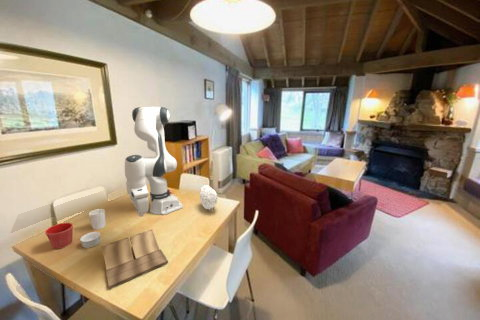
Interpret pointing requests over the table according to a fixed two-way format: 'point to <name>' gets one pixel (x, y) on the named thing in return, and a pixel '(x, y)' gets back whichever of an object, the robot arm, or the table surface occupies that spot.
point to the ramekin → (90, 239)
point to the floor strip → (135, 268)
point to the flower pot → (60, 235)
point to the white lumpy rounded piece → (208, 197)
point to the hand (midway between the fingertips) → (139, 213)
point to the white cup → (97, 218)
